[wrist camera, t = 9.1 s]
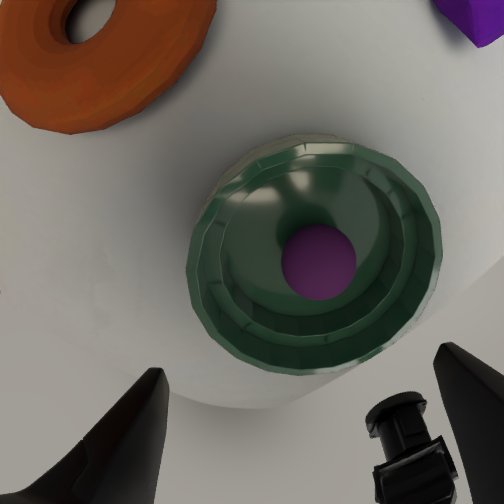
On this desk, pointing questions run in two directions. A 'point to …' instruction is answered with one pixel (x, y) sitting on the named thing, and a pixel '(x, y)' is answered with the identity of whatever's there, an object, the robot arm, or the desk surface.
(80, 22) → the desk surface
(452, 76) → the desk surface
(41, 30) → the donut
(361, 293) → the bowl
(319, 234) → the ball
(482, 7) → the crystal
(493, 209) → the desk surface
